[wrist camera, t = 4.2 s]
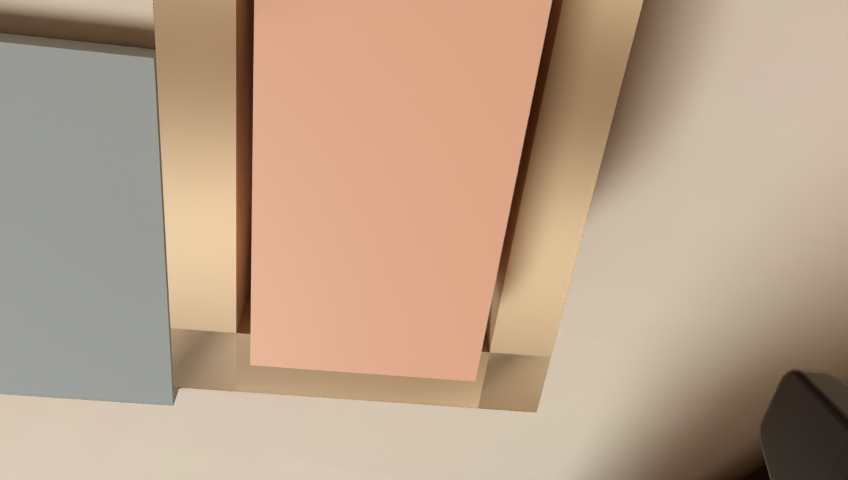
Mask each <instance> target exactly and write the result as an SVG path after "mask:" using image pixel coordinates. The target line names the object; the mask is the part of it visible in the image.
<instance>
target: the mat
mask: <svg viewBox="0 0 848 480" xmlns="http://www.w3.org/2000/svg"><path fill="white" fill-rule="evenodd" d="M177 393H178V387H174V384H173V365H172V346H171V328H170V309H169V290H168V272H167V253H166V234H165V216H164V197H163V178H162V160H161V141H160V122H159V104H158V85H157V66H156V49H149V48H140V47H130V46H121V45H112V44H102V43H93V42H84V41H74V40H65V39H55V38H46V37H37V36H27V35H18V34H9V33H0V394H7V395H22V396H37V397H52V398H67V399H81V400H96V401H111V402H126V403H141V404H155V405H170V406H173V405H174V402H175V399H176V396H177Z"/></svg>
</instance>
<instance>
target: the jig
mask: <svg viewBox="0 0 848 480" xmlns="http://www.w3.org/2000/svg"><path fill="white" fill-rule="evenodd" d="M642 4H643V0H552V4H551V9H550V14H549V19H548V24H547V29H546V34H545V39H544V44H543V49H542V54H541V59H540V64H539V68H538V73H537V78H536V83H535V88H534V93H533V98H532V103H531V108H530V113H529V118H528V123H527V128H526V133H525V138H524V143H523V148H522V153H521V158H520V163H519V168H518V173H517V178H516V183H515V187H514V192H513V197H512V202H511V207H510V212H509V217H508V222H507V227H506V232H505V237H504V242H503V247H502V252H501V257H500V262H499V267H498V272H497V277H496V282H495V287H494V292H493V297H492V302H491V307H490V311H489V316H488V321H487V326H486V331H485V336H484V341H483V346H482V351H481V356H480V361H479V366H478V371H477V376H476V381H475V382H474V381H461V380H447V379H433V378H419V377H405V376H392V375H378V374H364V373H350V372H337V371H323V370H309V369H295V368H281V367H268V366H254V365H250V337H251V247H252V157H253V68H254V0H153V10H154V29H155V48H156V66H157V85H158V104H159V122H160V141H161V160H162V178H163V197H164V216H165V234H166V253H167V272H168V290H169V309H170V328H171V346H172V365H173V384H174V387H179V388H193V389H207V390H222V391H236V392H250V393H265V394H279V395H294V396H308V397H322V398H337V399H351V400H365V401H380V402H394V403H408V404H423V405H437V406H452V407H466V408H480V409H495V410H509V411H523V412H537V408H538V404H539V400H540V396H541V392H542V389H543V385H544V381H545V377H546V373H547V369H548V366H549V362H550V358H551V354H552V350H553V346H554V342H555V339H556V335H557V331H558V327H559V323H560V319H561V316H562V312H563V308H564V304H565V300H566V296H567V293H568V289H569V285H570V281H571V277H572V273H573V269H574V266H575V262H576V258H577V254H578V250H579V246H580V243H581V239H582V235H583V231H584V227H585V223H586V219H587V216H588V212H589V208H590V204H591V200H592V196H593V193H594V189H595V185H596V181H597V177H598V173H599V169H600V166H601V162H602V158H603V154H604V150H605V146H606V143H607V139H608V135H609V131H610V127H611V123H612V119H613V116H614V112H615V108H616V104H617V100H618V96H619V93H620V89H621V85H622V81H623V77H624V73H625V69H626V66H627V62H628V58H629V54H630V50H631V46H632V43H633V39H634V35H635V31H636V27H637V23H638V19H639V16H640V12H641V8H642Z"/></svg>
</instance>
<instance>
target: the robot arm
mask: <svg viewBox="0 0 848 480" xmlns="http://www.w3.org/2000/svg"><path fill="white" fill-rule="evenodd" d="M760 443H761V447H762V451H763V454H764V458H765V462H766V465H767V469H768V472H769V476H770V480H848V385H846V384H845V383H843V382H842V381H840V380H839V379H837V378H836V377H834V376H833V375H831V374H829V373H827V372H823V371H815V370H803V369H792V370H789V371H788V372H786V373H785V374H784V375H783V377H782V378H781V380H780V382H779V384H778V387H777V389H776V391H775V393H774V395H773V397H772V400H771V402H770V404H769V406H768V408H767V410H766V413H765V415H764V417H763V419H762V422H761V426H760Z"/></svg>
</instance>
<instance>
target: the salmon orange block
mask: <svg viewBox="0 0 848 480" xmlns="http://www.w3.org/2000/svg"><path fill="white" fill-rule="evenodd" d="M551 4H552V0H254V68H253V157H252V247H251V337H250V365H254V366H268V367H281V368H295V369H309V370H323V371H337V372H350V373H364V374H378V375H392V376H405V377H419V378H433V379H447V380H461V381H474V382H475V381H476V376H477V371H478V366H479V361H480V356H481V351H482V346H483V341H484V336H485V331H486V326H487V321H488V316H489V311H490V307H491V302H492V297H493V292H494V287H495V282H496V277H497V272H498V267H499V262H500V257H501V252H502V247H503V242H504V237H505V232H506V227H507V222H508V217H509V212H510V207H511V202H512V197H513V192H514V187H515V183H516V178H517V173H518V168H519V163H520V158H521V153H522V148H523V143H524V138H525V133H526V128H527V123H528V118H529V113H530V108H531V103H532V98H533V93H534V88H535V83H536V78H537V73H538V68H539V64H540V59H541V54H542V49H543V44H544V39H545V34H546V29H547V24H548V19H549V14H550V9H551Z"/></svg>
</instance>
